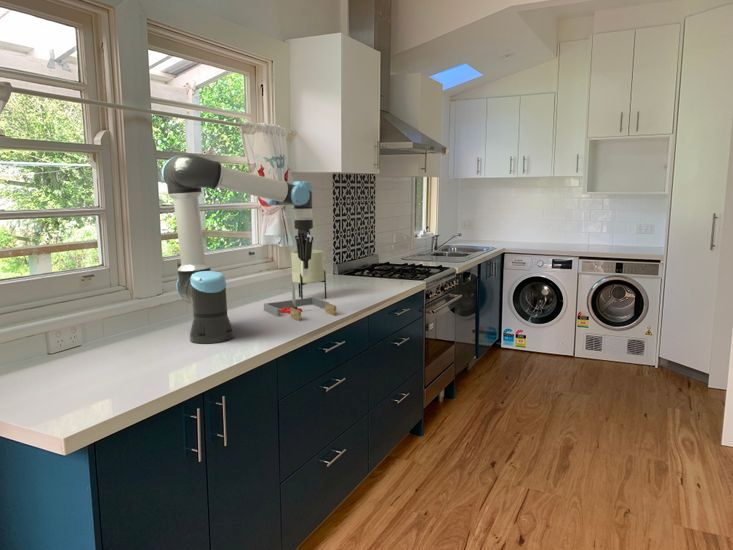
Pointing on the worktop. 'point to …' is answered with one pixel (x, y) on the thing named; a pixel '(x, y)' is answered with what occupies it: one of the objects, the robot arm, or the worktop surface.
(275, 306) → the grey piece
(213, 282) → the robot arm
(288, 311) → the tow hook
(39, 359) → the worktop surface
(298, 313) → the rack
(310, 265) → the planter
